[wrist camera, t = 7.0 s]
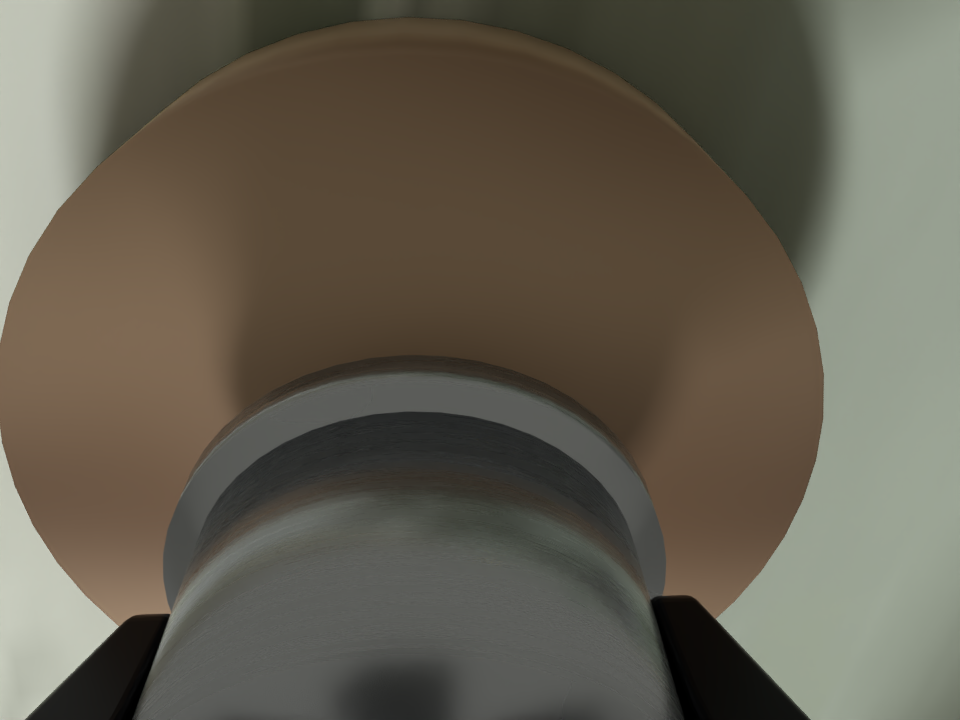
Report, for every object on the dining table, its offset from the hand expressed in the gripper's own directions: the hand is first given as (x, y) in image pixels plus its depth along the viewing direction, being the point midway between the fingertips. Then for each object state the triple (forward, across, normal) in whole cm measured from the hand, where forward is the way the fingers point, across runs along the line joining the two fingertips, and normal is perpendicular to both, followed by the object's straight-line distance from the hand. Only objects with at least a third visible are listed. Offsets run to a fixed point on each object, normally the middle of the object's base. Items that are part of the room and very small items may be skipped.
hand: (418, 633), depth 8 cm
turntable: (+5, 0, +2) cm, 5 cm away
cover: (+1, 0, 0) cm, 1 cm away
